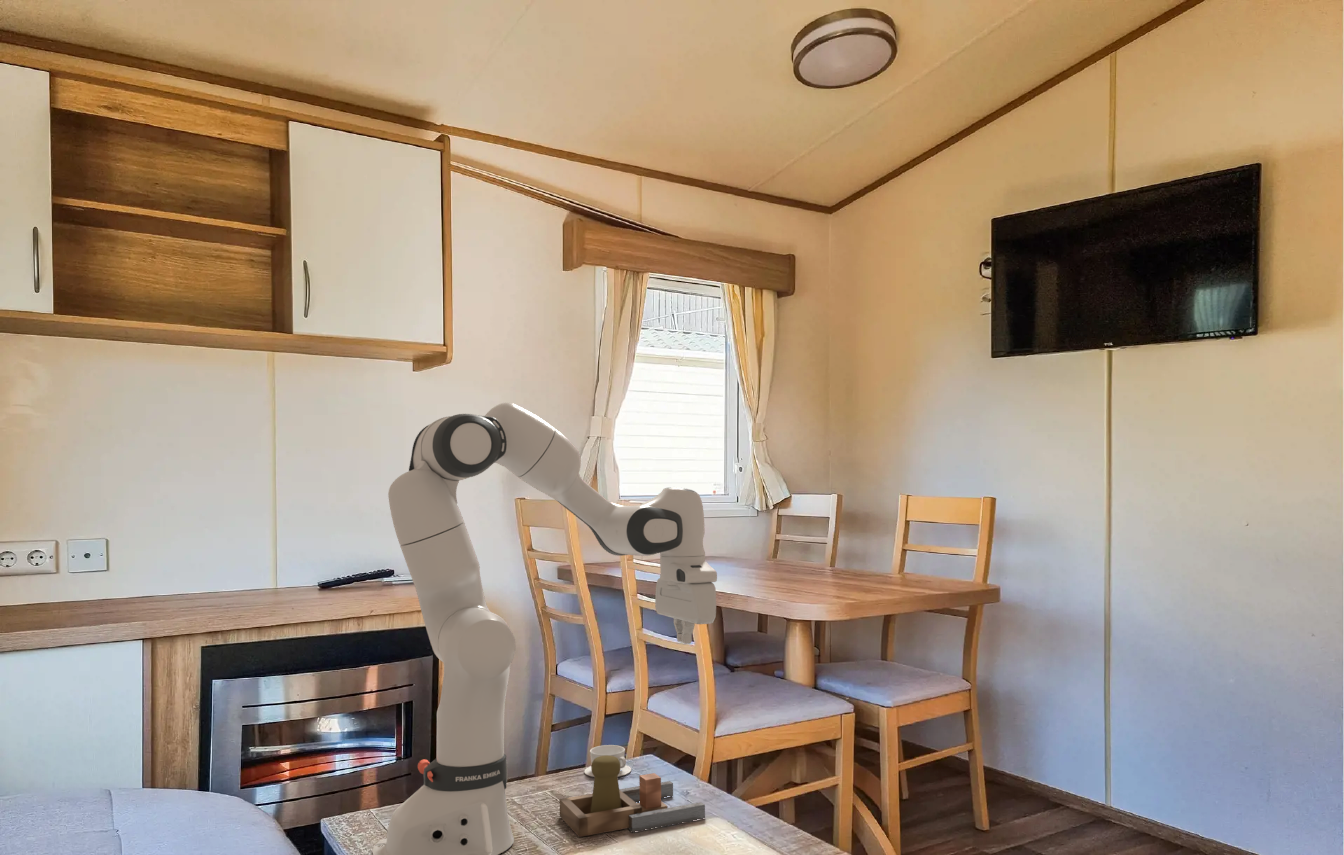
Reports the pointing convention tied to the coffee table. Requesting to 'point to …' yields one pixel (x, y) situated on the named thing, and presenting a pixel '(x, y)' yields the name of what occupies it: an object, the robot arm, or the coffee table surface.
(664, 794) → the lane rails
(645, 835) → the coffee table surface
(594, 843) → the coffee table surface
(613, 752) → the teacup
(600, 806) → the cork
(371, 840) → the coffee table surface
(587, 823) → the frame
